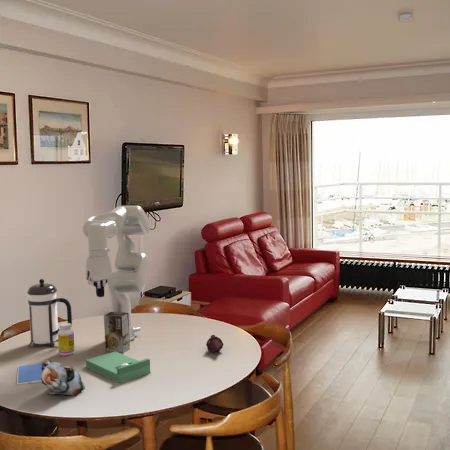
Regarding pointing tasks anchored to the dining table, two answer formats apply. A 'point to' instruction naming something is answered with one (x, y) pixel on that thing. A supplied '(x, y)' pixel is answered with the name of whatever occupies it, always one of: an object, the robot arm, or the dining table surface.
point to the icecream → (214, 344)
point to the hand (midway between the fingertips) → (100, 296)
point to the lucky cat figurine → (61, 379)
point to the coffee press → (44, 313)
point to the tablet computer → (29, 374)
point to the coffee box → (117, 331)
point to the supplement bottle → (65, 339)
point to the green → (118, 366)
